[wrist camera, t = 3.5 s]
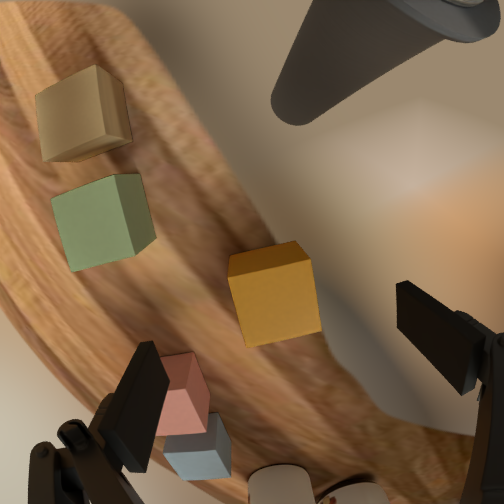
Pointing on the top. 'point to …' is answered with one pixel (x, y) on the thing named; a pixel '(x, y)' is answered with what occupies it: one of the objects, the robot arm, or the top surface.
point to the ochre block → (274, 293)
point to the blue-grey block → (201, 452)
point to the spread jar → (355, 493)
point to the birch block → (82, 116)
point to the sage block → (103, 221)
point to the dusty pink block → (184, 397)
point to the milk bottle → (280, 486)
